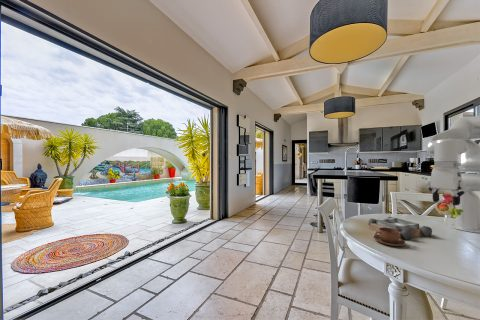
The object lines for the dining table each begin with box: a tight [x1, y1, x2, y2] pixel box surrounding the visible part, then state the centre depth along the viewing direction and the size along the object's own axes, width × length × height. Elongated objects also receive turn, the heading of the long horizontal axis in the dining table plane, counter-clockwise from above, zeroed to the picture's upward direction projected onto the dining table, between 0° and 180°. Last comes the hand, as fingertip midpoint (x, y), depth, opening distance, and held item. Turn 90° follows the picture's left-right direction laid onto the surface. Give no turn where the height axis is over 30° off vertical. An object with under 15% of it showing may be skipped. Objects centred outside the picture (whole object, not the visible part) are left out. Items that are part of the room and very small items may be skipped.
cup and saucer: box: [373, 228, 406, 247], centre depth 95 cm, size 12×12×6 cm
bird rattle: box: [434, 193, 463, 218], centre depth 94 cm, size 6×11×9 cm
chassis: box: [367, 216, 433, 241], centre depth 110 cm, size 22×20×6 cm
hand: (445, 203), depth 95 cm, fingers closed on bird rattle, 6 cm apart
